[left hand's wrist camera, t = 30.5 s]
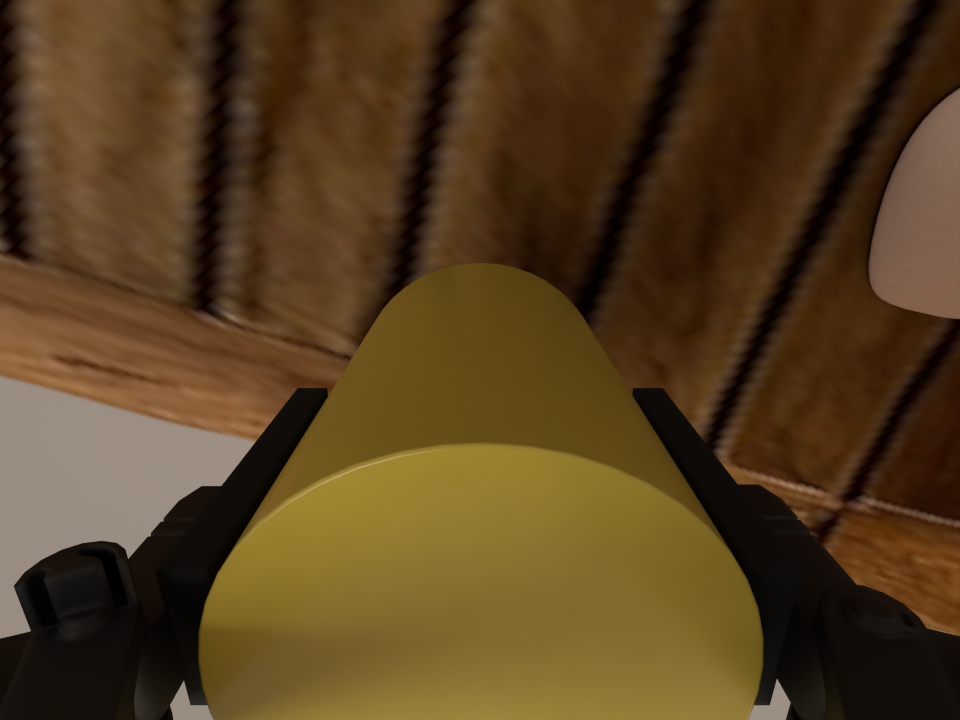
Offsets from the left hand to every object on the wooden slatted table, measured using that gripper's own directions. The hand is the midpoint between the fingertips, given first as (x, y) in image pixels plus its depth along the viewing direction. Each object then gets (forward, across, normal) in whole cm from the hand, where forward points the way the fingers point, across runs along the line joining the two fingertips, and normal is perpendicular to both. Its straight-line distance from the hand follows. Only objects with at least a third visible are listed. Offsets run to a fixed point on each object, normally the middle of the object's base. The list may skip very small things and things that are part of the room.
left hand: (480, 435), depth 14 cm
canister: (+4, 0, 0) cm, 4 cm away
